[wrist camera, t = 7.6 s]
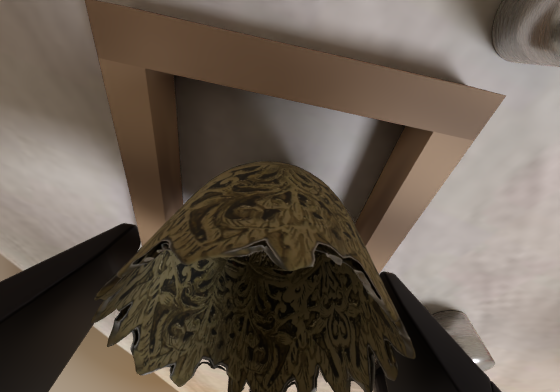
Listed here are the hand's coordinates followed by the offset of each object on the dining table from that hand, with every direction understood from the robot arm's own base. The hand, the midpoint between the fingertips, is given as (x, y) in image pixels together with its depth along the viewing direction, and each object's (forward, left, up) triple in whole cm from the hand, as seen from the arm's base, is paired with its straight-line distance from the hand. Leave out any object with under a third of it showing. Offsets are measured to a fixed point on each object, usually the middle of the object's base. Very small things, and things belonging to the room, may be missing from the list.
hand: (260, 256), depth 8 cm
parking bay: (0, 0, -5) cm, 5 cm away
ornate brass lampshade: (0, 0, -5) cm, 5 cm away
